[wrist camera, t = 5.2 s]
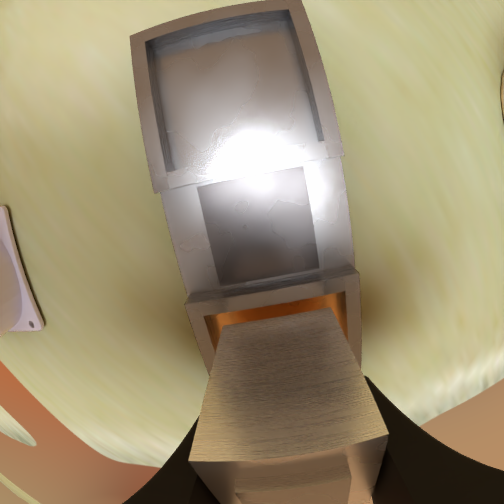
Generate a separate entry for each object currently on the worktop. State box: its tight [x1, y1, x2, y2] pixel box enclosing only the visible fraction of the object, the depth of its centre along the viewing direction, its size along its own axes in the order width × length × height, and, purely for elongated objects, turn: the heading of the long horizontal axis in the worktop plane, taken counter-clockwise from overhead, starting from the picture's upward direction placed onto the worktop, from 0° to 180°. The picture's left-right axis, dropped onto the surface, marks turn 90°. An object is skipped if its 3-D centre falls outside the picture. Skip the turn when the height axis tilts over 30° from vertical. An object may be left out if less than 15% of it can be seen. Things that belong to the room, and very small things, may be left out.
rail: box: [130, 0, 361, 376], centre depth 11 cm, size 7×20×2 cm, turn 11°
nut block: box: [188, 307, 389, 504], centre depth 7 cm, size 4×4×6 cm
